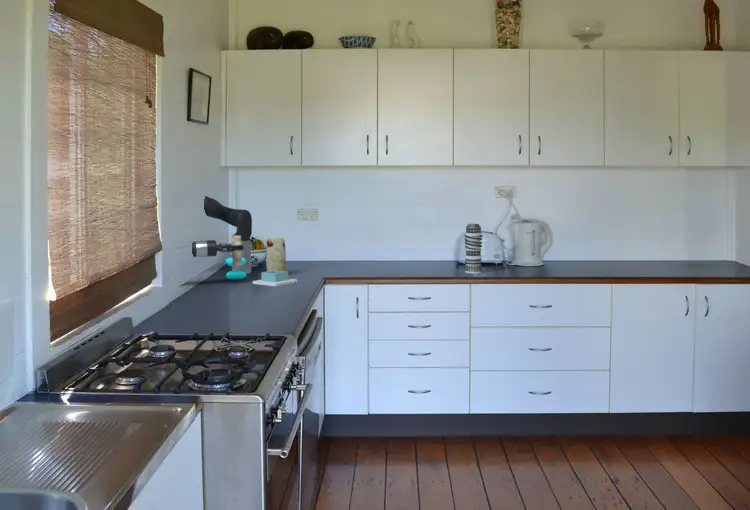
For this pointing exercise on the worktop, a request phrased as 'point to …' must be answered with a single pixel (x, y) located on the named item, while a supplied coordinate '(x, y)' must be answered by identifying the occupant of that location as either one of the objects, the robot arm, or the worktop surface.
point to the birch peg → (236, 251)
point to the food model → (275, 254)
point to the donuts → (237, 273)
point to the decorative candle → (473, 248)
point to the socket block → (274, 278)
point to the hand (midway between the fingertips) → (242, 246)
